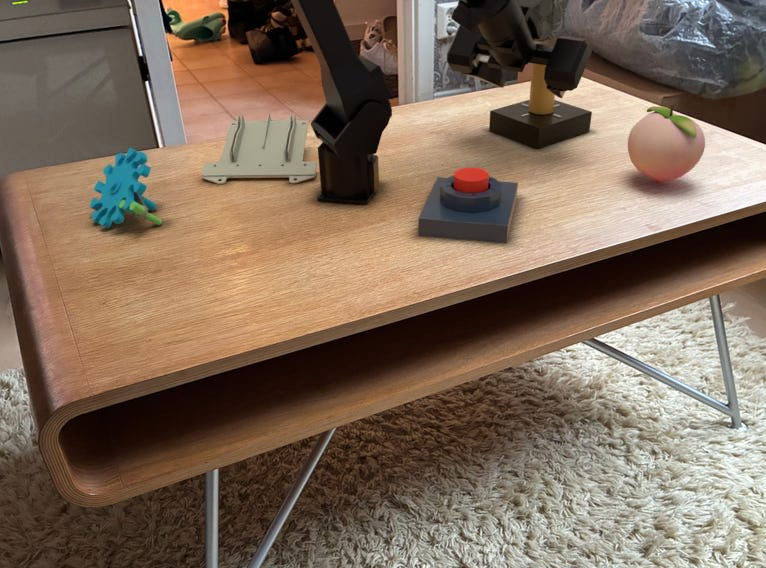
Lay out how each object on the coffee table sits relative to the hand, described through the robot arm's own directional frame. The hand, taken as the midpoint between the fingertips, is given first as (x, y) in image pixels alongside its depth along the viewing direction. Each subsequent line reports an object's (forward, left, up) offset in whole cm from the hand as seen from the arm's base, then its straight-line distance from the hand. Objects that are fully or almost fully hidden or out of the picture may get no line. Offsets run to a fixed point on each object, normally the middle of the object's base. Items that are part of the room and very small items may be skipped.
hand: (532, 89), depth 107 cm
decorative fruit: (+17, -14, -7) cm, 23 cm away
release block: (-5, -28, -7) cm, 29 cm away
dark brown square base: (+1, +3, -7) cm, 8 cm away
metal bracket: (-35, -16, -7) cm, 39 cm away
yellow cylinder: (+1, +3, -4) cm, 5 cm away
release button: (-5, -28, -3) cm, 29 cm away
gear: (-45, -36, -7) cm, 58 cm away
